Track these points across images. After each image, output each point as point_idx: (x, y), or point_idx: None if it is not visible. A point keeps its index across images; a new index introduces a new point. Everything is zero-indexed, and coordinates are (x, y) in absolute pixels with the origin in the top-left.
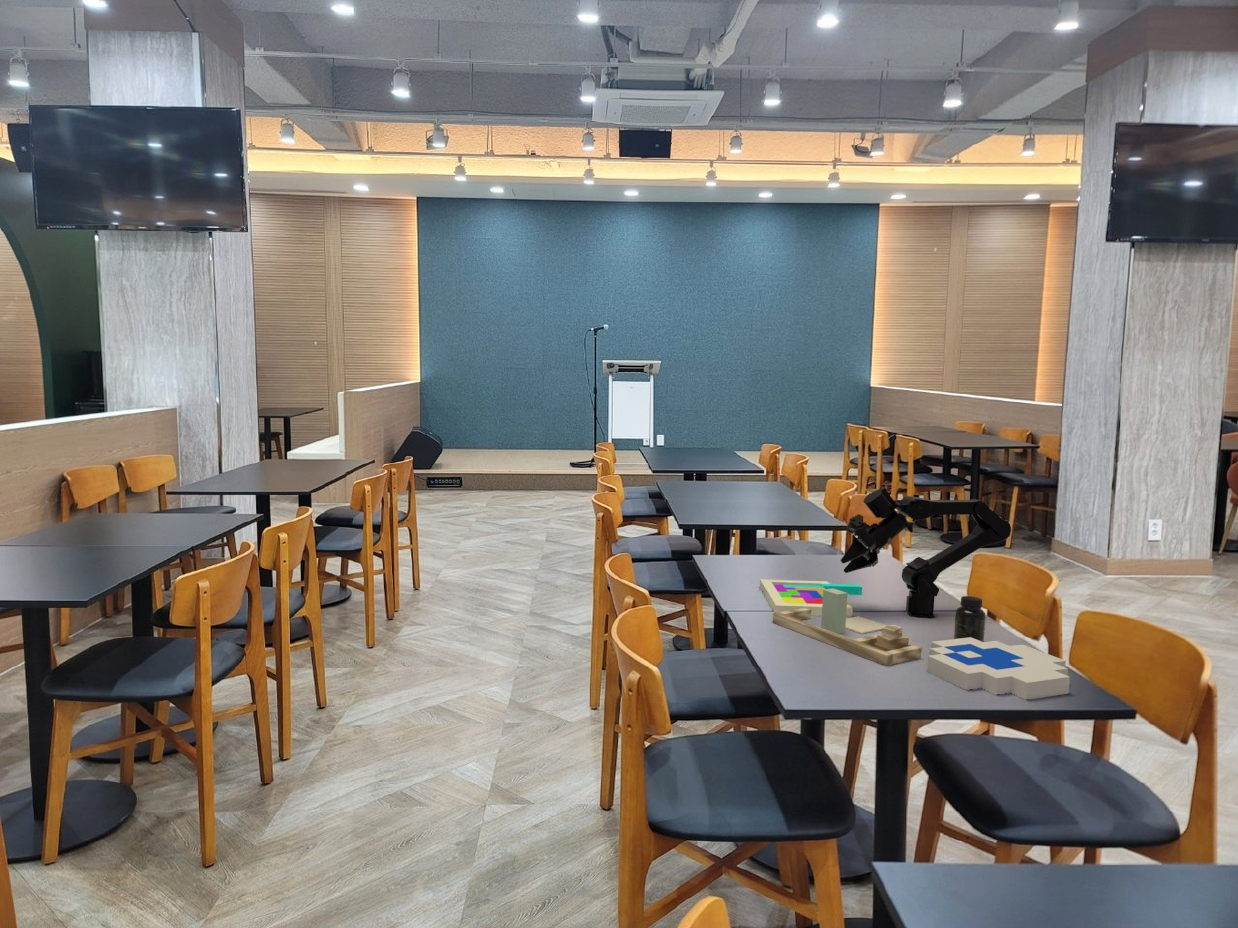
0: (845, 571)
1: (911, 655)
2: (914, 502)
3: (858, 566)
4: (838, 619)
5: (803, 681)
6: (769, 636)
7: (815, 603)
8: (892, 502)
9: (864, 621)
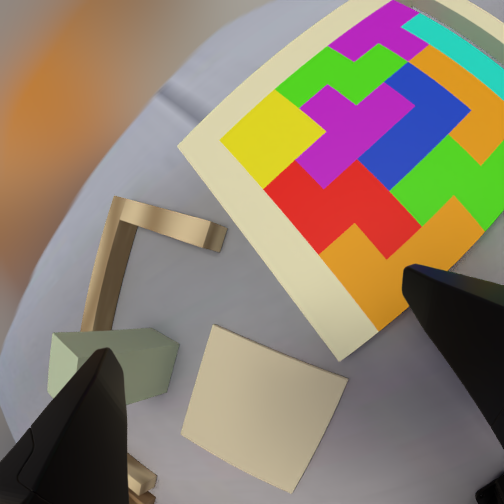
0: (404, 287)
1: None
2: None
3: (474, 384)
4: None
5: (11, 378)
6: (68, 259)
7: (290, 211)
8: None
9: (293, 418)
